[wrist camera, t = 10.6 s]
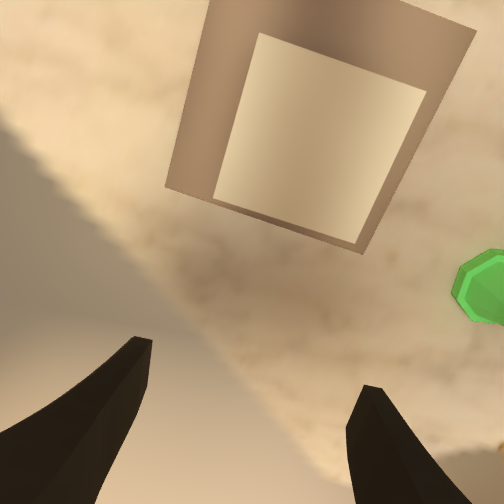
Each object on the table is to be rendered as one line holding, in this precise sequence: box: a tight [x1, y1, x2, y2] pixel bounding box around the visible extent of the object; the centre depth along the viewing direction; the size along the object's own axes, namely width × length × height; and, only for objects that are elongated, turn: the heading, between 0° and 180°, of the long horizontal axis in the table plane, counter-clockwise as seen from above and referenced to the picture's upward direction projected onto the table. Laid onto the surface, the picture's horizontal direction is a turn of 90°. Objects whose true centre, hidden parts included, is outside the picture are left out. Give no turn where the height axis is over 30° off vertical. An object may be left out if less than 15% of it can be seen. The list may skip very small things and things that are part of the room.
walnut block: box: [165, 0, 477, 255], centre depth 17 cm, size 9×9×4 cm
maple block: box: [213, 33, 427, 244], centre depth 12 cm, size 4×4×6 cm
